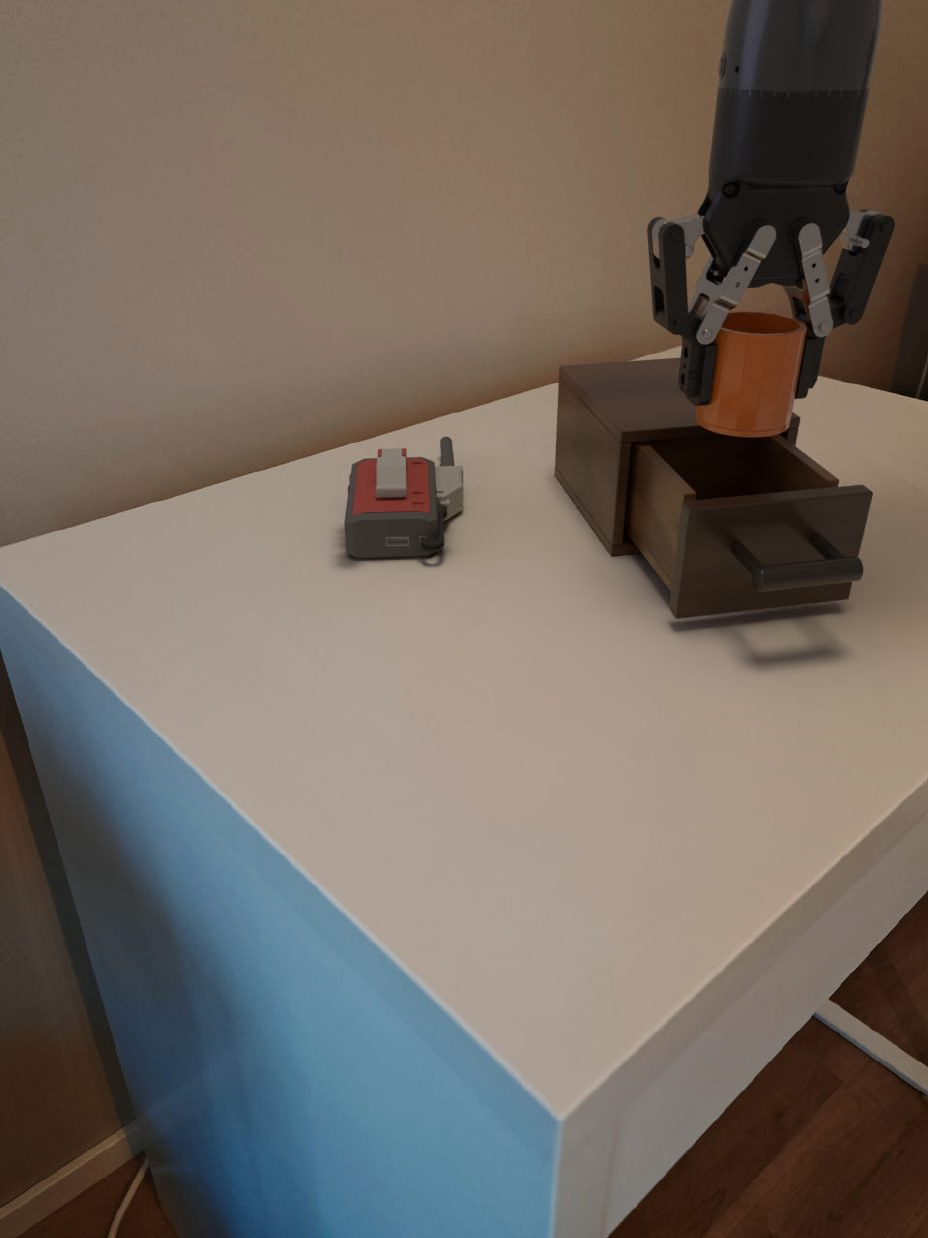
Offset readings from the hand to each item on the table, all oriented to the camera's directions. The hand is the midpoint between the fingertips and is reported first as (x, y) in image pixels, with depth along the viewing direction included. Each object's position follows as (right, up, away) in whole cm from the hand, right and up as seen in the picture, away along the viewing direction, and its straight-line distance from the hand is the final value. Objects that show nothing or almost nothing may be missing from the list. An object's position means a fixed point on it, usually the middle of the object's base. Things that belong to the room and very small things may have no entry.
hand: (745, 397), depth 58 cm
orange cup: (0, -1, +1) cm, 2 cm away
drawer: (0, -11, +4) cm, 11 cm away
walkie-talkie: (-21, -5, +16) cm, 27 cm away
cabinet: (-2, -5, +16) cm, 17 cm away
